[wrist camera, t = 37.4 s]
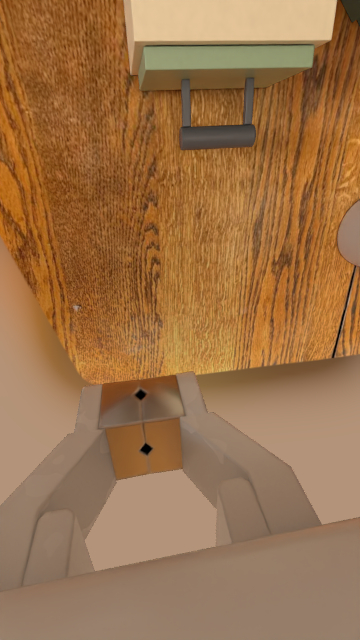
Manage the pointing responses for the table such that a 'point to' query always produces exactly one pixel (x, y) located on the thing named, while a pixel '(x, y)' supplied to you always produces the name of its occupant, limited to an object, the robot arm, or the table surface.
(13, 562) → the robot arm
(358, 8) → the can
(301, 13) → the cabinet
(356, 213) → the mug
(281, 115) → the table surface
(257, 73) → the drawer
